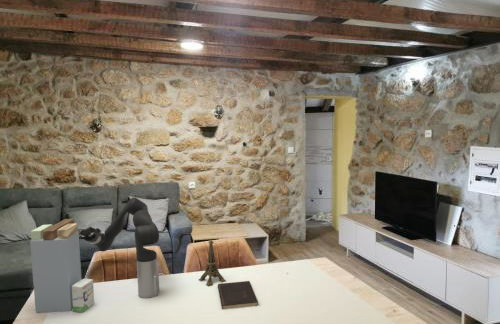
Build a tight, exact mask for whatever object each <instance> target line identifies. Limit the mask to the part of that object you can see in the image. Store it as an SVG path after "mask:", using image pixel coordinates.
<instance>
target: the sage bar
mask: <svg viewBox="0 0 500 324" xmlns="http://www.w3.org/2000/svg"><path fill="white" fill-rule="evenodd" d="M52 226H53V224H50V223H49V224H42V225H40V226H38V227H36V228H34V229H33V230H30V238H31V239H30V241H31V240H42V239H43V231H44V230H46V229H48V228H50V227H52Z"/></svg>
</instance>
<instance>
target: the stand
mask: <svg viewBox="0 0 500 324" xmlns="http://www.w3.org/2000/svg"><path fill="white" fill-rule="evenodd" d="M29 243H30V256H31V258H30V259H31V267H32V269H31V270H32V282H33V294H34V296H33V297H34V306H35V313H36V314H41V313H42V314H43V313H61V312H62V313H63V312H73V299H72V286H73V285H74V284H76V283H77V282H79V281H80V280H82V279H83V278H82V267H81V252H80V236H79V233H78V231H77V233H75V234H74V235H72V236H71V237H69V238H68V239H58V237H57V238H56V239H54V240H44V241H43V239H42V240H31V239H30V241H29Z"/></svg>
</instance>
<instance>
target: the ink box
mask: <svg viewBox="0 0 500 324" xmlns="http://www.w3.org/2000/svg"><path fill="white" fill-rule="evenodd" d="M94 291H95V290H94V279H91V278H82V280H80V281H79V282H77V283H76V284H74V285H73V286H72V299H73V310H72V312H74V313H84V312H85V311H87V310H88V309H89V308H91V306H94V304H95V292H94Z"/></svg>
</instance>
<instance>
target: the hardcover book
mask: <svg viewBox="0 0 500 324" xmlns="http://www.w3.org/2000/svg"><path fill="white" fill-rule="evenodd" d="M217 289H218V296H219V301H220V306H221V310H226V309H236V308H245V307H253V306H255V307H256V306H258V303H259V300H258V298H257V296H256V294H255V291H254V288H253V286H252V284H251V281H250V280H246V281H245V280H244V281H235V282H220V283H218V284H217Z"/></svg>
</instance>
